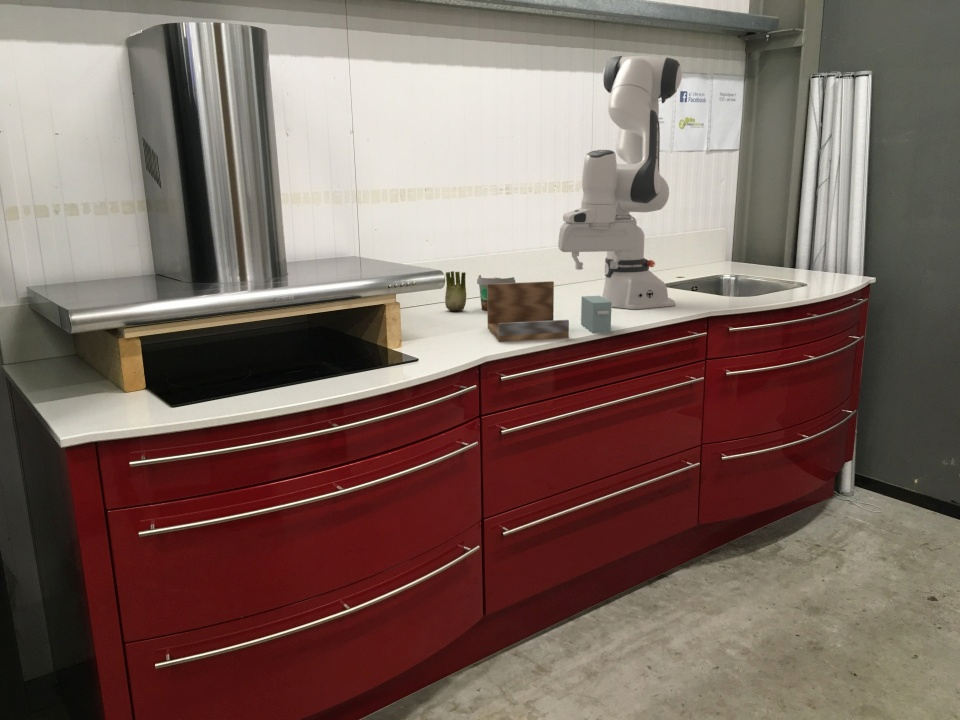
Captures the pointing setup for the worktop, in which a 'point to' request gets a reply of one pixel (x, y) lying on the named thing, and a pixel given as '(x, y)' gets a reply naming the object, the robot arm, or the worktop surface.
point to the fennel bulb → (455, 291)
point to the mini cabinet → (596, 314)
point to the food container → (483, 287)
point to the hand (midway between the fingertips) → (596, 268)
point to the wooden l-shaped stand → (523, 312)
